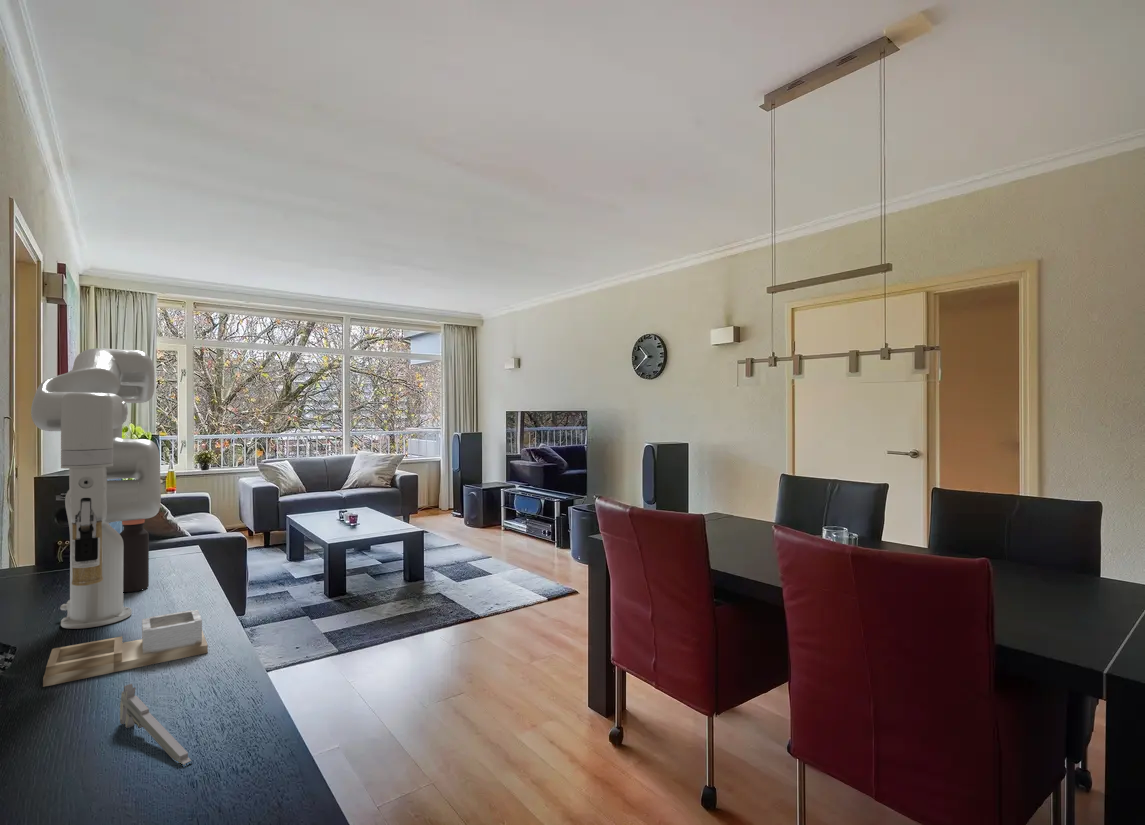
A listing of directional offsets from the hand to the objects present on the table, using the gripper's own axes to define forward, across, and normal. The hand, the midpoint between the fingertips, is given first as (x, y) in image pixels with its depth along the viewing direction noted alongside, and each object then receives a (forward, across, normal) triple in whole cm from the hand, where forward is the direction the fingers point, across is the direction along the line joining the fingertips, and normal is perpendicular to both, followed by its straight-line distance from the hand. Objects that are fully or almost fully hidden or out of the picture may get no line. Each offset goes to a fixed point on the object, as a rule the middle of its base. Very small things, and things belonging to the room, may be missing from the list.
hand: (87, 556), depth 110 cm
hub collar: (+19, -1, -13) cm, 23 cm away
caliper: (+20, -40, -9) cm, 46 cm away
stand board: (+20, -1, -6) cm, 21 cm away
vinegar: (+21, +57, -7) cm, 62 cm away
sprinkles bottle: (+5, 0, 0) cm, 5 cm away
